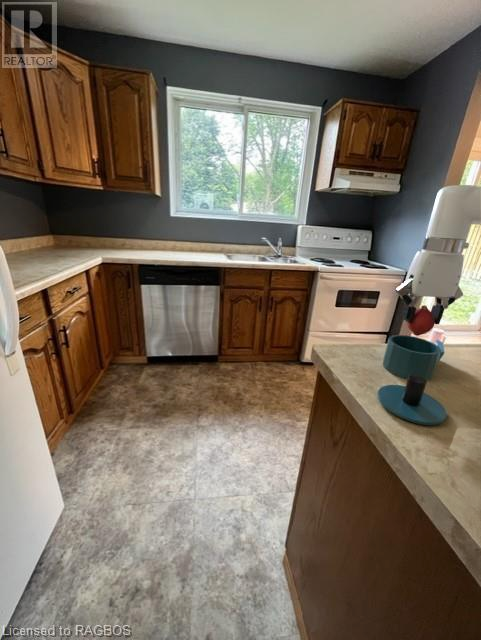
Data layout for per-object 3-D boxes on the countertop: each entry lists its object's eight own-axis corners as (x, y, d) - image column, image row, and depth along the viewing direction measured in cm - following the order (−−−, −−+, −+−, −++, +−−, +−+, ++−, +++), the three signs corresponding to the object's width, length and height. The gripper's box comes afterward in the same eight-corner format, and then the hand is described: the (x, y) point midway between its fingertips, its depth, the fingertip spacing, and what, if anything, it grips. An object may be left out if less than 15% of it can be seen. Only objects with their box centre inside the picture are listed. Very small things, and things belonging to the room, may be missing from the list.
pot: (415, 360, 77) (423, 336, 74) (442, 382, 66) (452, 355, 64) (375, 357, 77) (381, 333, 75) (395, 380, 66) (403, 352, 64)
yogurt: (425, 356, 81) (437, 339, 78) (430, 359, 80) (442, 342, 77) (424, 369, 71) (438, 350, 68) (430, 372, 70) (444, 353, 68)
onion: (407, 329, 72) (415, 300, 69) (432, 336, 68) (441, 305, 66) (400, 334, 68) (408, 304, 66) (426, 342, 65) (436, 310, 62)
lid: (421, 390, 63) (429, 365, 60) (460, 429, 51) (472, 399, 49) (367, 387, 63) (373, 362, 60) (393, 425, 51) (402, 395, 49)
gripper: (468, 247, 64) (445, 318, 70) (395, 243, 65) (378, 314, 71) (495, 250, 57) (466, 329, 63) (413, 246, 57) (392, 325, 64)
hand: (420, 321), depth 67 cm, fingers closed on onion, 5 cm apart
